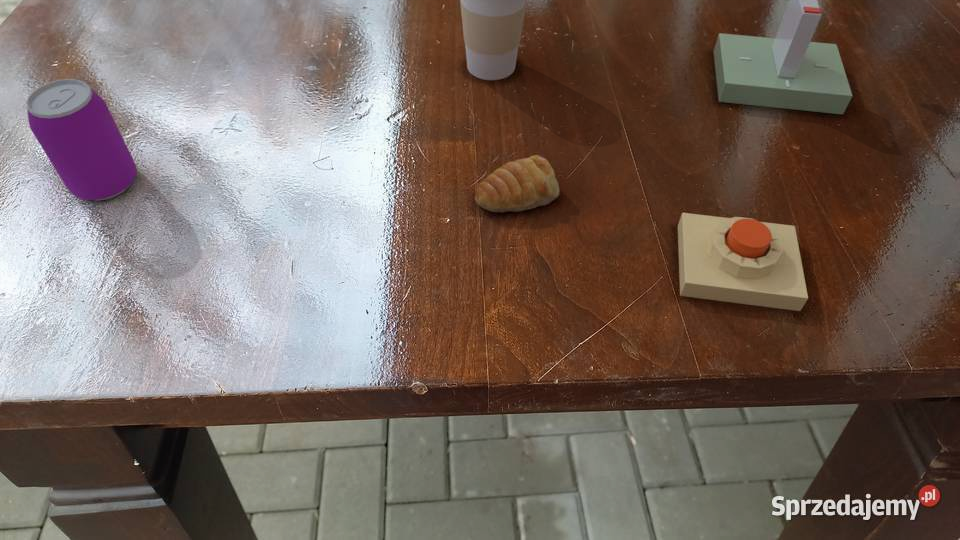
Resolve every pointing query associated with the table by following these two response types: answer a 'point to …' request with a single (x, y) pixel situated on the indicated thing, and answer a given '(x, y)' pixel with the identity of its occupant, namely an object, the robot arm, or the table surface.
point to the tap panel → (755, 81)
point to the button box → (739, 265)
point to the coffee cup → (492, 36)
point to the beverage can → (80, 139)
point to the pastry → (518, 186)
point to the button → (749, 238)
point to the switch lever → (795, 36)
